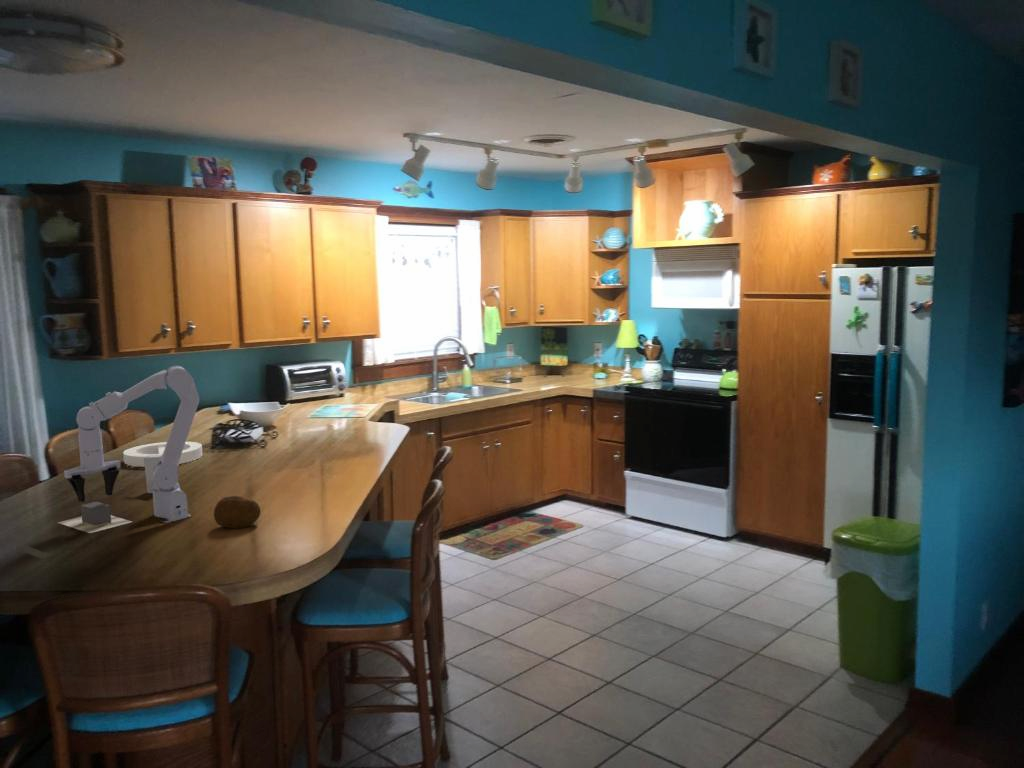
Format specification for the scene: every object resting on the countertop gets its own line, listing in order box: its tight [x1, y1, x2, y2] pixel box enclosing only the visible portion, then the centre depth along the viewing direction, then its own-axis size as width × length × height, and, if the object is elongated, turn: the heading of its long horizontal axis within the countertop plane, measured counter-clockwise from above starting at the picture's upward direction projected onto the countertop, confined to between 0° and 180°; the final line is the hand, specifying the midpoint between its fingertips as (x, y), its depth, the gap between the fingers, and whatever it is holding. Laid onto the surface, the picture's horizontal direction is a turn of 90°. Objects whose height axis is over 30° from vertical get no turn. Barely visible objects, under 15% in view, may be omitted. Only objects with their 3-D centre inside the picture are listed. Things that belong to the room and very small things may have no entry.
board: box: [57, 515, 133, 534], centre depth 221 cm, size 18×12×1 cm, turn 55°
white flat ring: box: [122, 441, 203, 467], centre depth 306 cm, size 28×28×5 cm
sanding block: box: [80, 501, 112, 527], centre depth 220 cm, size 7×4×5 cm, turn 55°
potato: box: [213, 495, 261, 529], centre depth 218 cm, size 8×12×9 cm
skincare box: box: [144, 455, 162, 494], centre depth 257 cm, size 6×4×12 cm
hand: (95, 497), depth 219 cm, fingers open, 7 cm apart
